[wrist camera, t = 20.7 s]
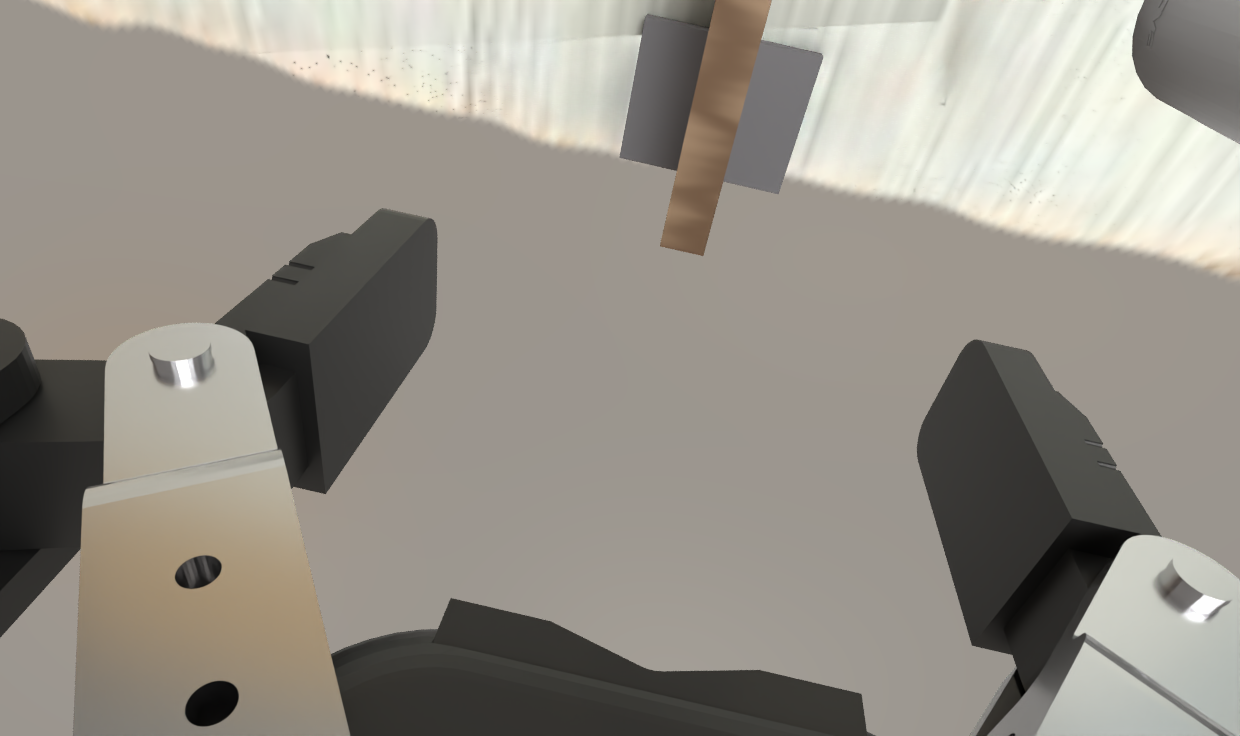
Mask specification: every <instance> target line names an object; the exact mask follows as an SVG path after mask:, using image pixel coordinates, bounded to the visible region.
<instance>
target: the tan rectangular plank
mask: <svg viewBox="0 0 1240 736" xmlns="http://www.w3.org/2000/svg"><path fill="white" fill-rule="evenodd" d="M771 1H772V0H715V5H714V9H713V14H712V18H711V23H710V27H709V31H708V36H707V40H706V45H705V49H704V54H703V58H702V62H701V67H700V71H699V76H698V80H697V84H696V89H695V93H694V98H693V102H692V107H691V111H690V115H689V120H688V124H687V129H686V133H685V138H684V142H683V146H682V151H681V155H680V160H679V164H678V168H677V173H676V178H675V182H674V186H673V191H672V195H671V199H670V204H669V209H668V213H667V217H666V221H665V226H664V230H663V235H662V239H661V244H660V246H661V247H666V248H670V249H675V250H680V251H683V252H688V253H692V254H698V255H701V256H703V255H704V251H705V247H706V243H707V240H708V236H709V232H710V229H711V224H712V221H713V218H714V214H715V209H716V206H717V203H718V199H719V195H720V191H721V187H722V184H723V180H724V176H725V173H726V169H727V165H728V162H729V158H730V154H731V150H732V147H733V143H734V139H735V135H736V132H737V128H738V124H739V121H740V117H741V113H742V109H743V106H744V102H745V98H746V94H747V91H748V87H749V83H750V79H751V76H752V72H753V68H754V65H755V61H756V57H757V53H758V50H759V46H760V42H761V38H762V35H763V31H764V27H765V24H766V20H767V16H768V12H769V9H770V5H771Z"/></svg>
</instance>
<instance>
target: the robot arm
mask: <svg viewBox="0 0 1240 736" xmlns="http://www.w3.org/2000/svg"><path fill="white" fill-rule="evenodd" d="M1132 57H1133V61H1134V65H1135V69H1136V73H1137V75H1138V77H1139V78H1140V80H1141V82H1142V84H1143V85H1144V87H1145V88H1146V89H1147V90H1148V91H1149V92H1150V93H1151V94H1152V95H1154V96H1155V97H1156V98H1157V99H1159V100H1161V101H1162V102H1164V103H1166V104H1168V105H1170V106H1172V107H1173V108H1175V109H1177V110H1179V111H1181V112H1183V113H1184V114H1186V115H1188V116H1190V117H1192V118H1193V119H1195V120H1197V121H1198V122H1200V123H1202V124H1204V125H1205V126H1207V127H1209V128H1211V129H1213V130H1215V131H1217V132H1218V133H1220V134H1222V135H1224V136H1226V137H1228V138H1230V139H1231V140H1233V141H1235V142H1237V143H1239V144H1240V0H1145V1H1144V3H1143V5H1142V7H1141V10H1140V12H1139V14H1138V17H1137V21H1136V25H1135V29H1134V33H1133V45H1132ZM436 286H437V228H436V224H435V222H434V220H432V219H430V218H426V217H421V216H417V215H412V214H407V213H403V212H398V211H394V210H389V209H384V208H382V209H380V210H378V211H377V212H376V213H375V214H374V215H373V216H371V217H370V218H369V219H368V220H367V221H366V222H365V223H364V224H363V225H361V226H360V227H359V228H358V229H357V230H356V231H355V232H354V233H353V234H347V233H342V232H341V233H338V234H336V235H333V236H330V237H328V238H325V239H322V240H320V241H317V242H315V243H312V244H310V245H308V246H307V247H306V248H305V249H304V250H303V251H301V252H300V253H299V254H298V255H296V256H295V257H294V258H293V259H292V260H290V261H289V265H284V266H283V267H282V268H281V269H280V270H279V271H277V272H276V273H275V274H274V275H273V277H272V280H269V279H268V280H266V281H265V282H264V283H263V284H262V285H261V286H259V287H258V288H257V289H256V290H255V291H253V292H252V293H251V294H250V295H248V296H247V297H246V298H245V299H244V300H242V301H241V302H240V303H239V304H238V305H236V306H235V307H234V308H233V309H232V310H230V311H229V312H228V313H227V314H226V315H224V316H223V317H222V318H221V319H220V320H218V321H217V322H216V323H215V324H208V323H183V324H174V325H168V326H163V327H159V328H155V329H152V330H149V331H146V332H143V333H141V334H139V335H137V336H134V337H132V338H131V339H129V340H127V341H125V342H124V343H122V344H121V345H120V346H119V347H117V348H116V349H115V350H114V351H113V353H112V354H111V355H110V356H109V358H108V360H107V361H98V360H95V361H94V360H34V357H33V355H32V352H31V350H30V347H29V345H28V342H27V340H26V337H25V335H24V332H23V331H22V330H21V329H20V327H18V326H16V325H15V324H14V323H12V322H9V321H7V320H4V319H0V637H1V636H2V635H3V634H4V633H5V632H6V631H7V630H8V628H9V627H10V626H11V625H12V624H13V623H14V622H15V621H16V620H17V618H18V617H19V616H20V615H21V614H22V613H23V612H24V611H25V610H26V609H27V607H28V606H29V605H30V604H31V603H32V602H33V601H34V600H35V599H36V598H37V596H38V595H39V594H40V593H41V592H42V590H44V589H45V587H46V586H47V585H48V584H49V583H50V582H51V581H52V580H53V579H54V578H55V577H56V575H57V574H58V573H59V572H60V571H61V570H62V569H63V568H64V567H65V565H66V564H67V563H68V562H69V561H70V560H71V559H72V558H73V557H74V555H75V554H76V553H77V552H78V551H79V550H80V549H81V552H80V577H79V600H78V602H79V603H78V627H77V650H76V674H75V698H74V722H73V736H875V735H873V734H871V733H868V732H867V731H866V724H865V716H864V709H863V703H862V695H861V694H859V693H855V692H851V691H847V690H842V689H838V688H834V687H829V686H825V685H821V684H816V683H812V682H808V681H804V680H799V679H795V678H791V677H787V676H782V675H778V674H774V673H770V672H765V671H761V670H739V671H738V670H737V671H735V670H734V671H671V672H670V671H667V672H662V671H653V670H649V669H646V668H643V667H641V666H639V665H637V664H635V663H633V662H631V661H629V660H627V659H625V658H623V657H621V656H619V655H617V654H615V653H613V652H611V651H609V650H607V649H605V648H603V647H601V646H599V645H597V644H595V643H593V642H591V641H589V640H587V639H585V638H583V637H581V636H579V635H577V634H575V633H573V632H571V631H569V630H567V629H565V628H563V627H561V626H559V625H557V624H555V623H553V622H551V621H546V620H542V619H538V618H534V617H529V616H525V615H521V614H517V613H512V612H508V611H504V610H499V609H495V608H491V607H487V606H482V605H478V604H474V603H469V602H465V601H461V600H457V599H452V598H451V599H450V601H449V604H448V607H447V609H446V611H445V613H444V616H443V618H442V621H441V623H440V626H439V628H438V629H435V630H434V629H430V630H415V631H408V632H400V633H393V634H389V635H385V636H381V637H377V638H373V639H369V640H366V641H363V642H360V643H357V644H354V645H352V646H349V647H346V648H344V649H341V650H339V651H337V652H335V653H333V654H331V653H330V649H329V645H328V641H327V637H326V632H325V628H324V624H323V620H322V616H321V612H320V608H319V604H318V599H317V595H316V591H315V587H314V582H313V578H312V574H311V570H310V566H309V562H308V557H307V554H306V549H305V545H304V541H303V537H302V532H301V528H300V524H299V520H298V516H297V512H296V508H295V503H294V499H293V495H292V491H291V489H292V488H293V487H297V488H302V489H306V490H310V491H315V492H319V493H324V494H326V493H327V491H328V490H329V488H330V487H331V485H332V484H333V482H334V481H335V480H336V478H337V477H338V475H339V474H340V472H341V471H342V469H343V468H344V466H345V465H346V464H347V462H348V461H349V459H350V458H351V456H352V455H353V453H354V452H355V450H356V449H357V447H358V446H359V445H360V443H361V442H362V440H363V439H364V437H365V436H366V434H367V433H368V432H369V430H370V429H371V427H372V426H373V424H374V423H375V421H376V420H377V418H378V417H379V415H380V414H381V413H382V411H383V410H384V408H385V407H386V405H387V404H388V402H389V401H390V399H391V398H392V397H393V395H394V394H395V392H396V391H397V389H398V388H399V386H400V385H401V383H402V382H403V381H404V379H405V378H406V376H407V374H408V373H409V372H410V370H411V369H412V367H413V366H414V365H415V363H416V362H417V360H418V359H419V357H420V356H421V354H422V353H423V351H424V350H425V348H426V347H427V345H428V343H429V340H430V337H431V334H432V331H433V327H434V323H435V317H436V291H437V287H436ZM1102 444H1103V443H1102V441H1101V440H1100V438H1099V436H1098V435H1097V433H1096V432H1095V430H1094V428H1093V427H1092V425H1091V424H1090V422H1089V420H1088V419H1087V417H1086V416H1084V415H1083V414H1082V413H1081V412H1080V411H1079V410H1078V409H1077V408H1075V407H1074V406H1073V405H1072V404H1071V403H1070V402H1069V401H1068V400H1067V399H1065V398H1064V397H1063V396H1062V395H1061V394H1060V393H1059V392H1057V391H1055V390H1054V389H1053V387H1052V385H1051V384H1050V382H1049V380H1048V379H1047V377H1046V375H1045V374H1044V372H1043V370H1042V369H1041V367H1040V365H1039V364H1038V362H1037V360H1036V359H1035V357H1034V356H1033V354H1032V353H1031V352H1029V351H1027V350H1022V349H1018V348H1013V347H1009V346H1004V345H999V344H995V343H990V342H986V341H981V340H973V341H971V342H970V343H968V344H967V345H966V346H965V347H964V349H963V350H962V352H961V353H960V355H959V356H958V358H957V360H956V362H955V364H954V366H953V368H952V369H951V371H950V373H949V375H948V377H947V379H946V380H945V383H944V384H943V386H942V388H941V390H940V392H939V393H938V396H937V397H936V399H935V401H934V403H933V404H932V406H931V408H930V410H929V412H928V414H927V415H926V417H925V419H924V421H923V424H922V427H921V429H920V433H919V437H918V444H917V457H918V462H919V465H920V469H921V473H922V476H923V479H924V483H925V486H926V489H927V493H928V496H929V500H930V503H931V507H932V510H933V513H934V517H935V520H936V524H937V527H938V531H939V534H940V537H941V541H942V544H943V548H944V551H945V555H946V558H947V561H948V565H949V568H950V572H951V575H952V578H953V582H954V585H955V589H956V592H957V595H958V599H959V602H960V606H961V609H962V612H963V616H964V620H965V623H966V626H967V630H968V633H969V637H970V640H971V643H972V646H976V647H981V648H985V649H989V650H994V651H998V652H1002V653H1007V654H1011V655H1013V658H1014V661H1015V664H1016V667H1015V668H1014V670H1013V671H1012V672H1011V673H1010V674H1009V675H1008V676H1007V677H1006V679H1005V680H1004V681H1003V682H1002V684H1001V685H1000V687H999V688H998V690H997V692H996V693H995V695H994V697H993V698H992V700H991V701H990V703H989V705H988V706H987V708H986V710H985V711H984V713H983V714H982V716H981V718H980V719H979V721H978V722H977V724H976V726H975V727H974V729H973V731H972V732H971V734H970V736H1240V580H1239V579H1238V578H1237V577H1235V576H1234V575H1233V574H1232V573H1231V572H1230V571H1228V570H1227V569H1225V568H1224V567H1223V566H1221V565H1220V564H1219V563H1217V562H1216V561H1214V560H1212V559H1211V558H1209V557H1208V556H1206V555H1204V554H1203V553H1200V552H1198V551H1197V550H1195V549H1193V548H1191V547H1189V546H1187V545H1184V544H1182V543H1179V542H1177V541H1174V540H1171V539H1167V538H1163V537H1162V536H1161V535H1160V533H1159V532H1158V530H1157V529H1156V527H1155V525H1154V524H1153V522H1152V521H1151V519H1150V518H1149V516H1148V514H1147V513H1146V511H1145V509H1144V508H1143V506H1142V505H1141V503H1140V501H1139V500H1138V498H1137V497H1136V495H1135V494H1134V492H1133V490H1132V489H1131V487H1130V486H1129V484H1128V483H1127V481H1126V479H1125V478H1124V476H1123V475H1122V473H1121V471H1118V470H1116V463H1115V462H1114V460H1113V459H1112V457H1111V455H1110V454H1109V452H1108V451H1107V449H1105V448H1102Z"/></svg>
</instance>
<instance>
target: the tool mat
mask: <svg viewBox="0 0 1240 736" xmlns="http://www.w3.org/2000/svg"><path fill="white" fill-rule="evenodd" d="M708 31H709V28H707V27H702V26H698V25H694V24H689V23H685V22H680V21H676V20H671V19H667V18H663V17H658V16H654V15H649V14H647V15H646V17H645V22H644V27H643V33H642V38H641V43H640V49H639V54H638V60H637V65H636V71H635V76H634V82H633V87H632V92H631V98H630V103H629V109H628V114H627V120H626V125H625V130H624V136H623V141H622V147H621V152H620V158H623V159H628V160H632V161H636V162H641V163H645V164H649V165H654V166H658V167H662V168H667V169H671V170H676V171H677V168H678V164H679V160H680V155H681V151H682V146H683V142H684V138H685V133H686V129H687V124H688V120H689V115H690V111H691V107H692V102H693V98H694V93H695V89H696V84H697V80H698V76H699V71H700V67H701V62H702V58H703V54H704V49H705V45H706V40H707V36H708ZM822 60H823V55H822V54H821V53H817V52H812V51H808V50H804V49H799V48H795V47H790V46H786V45H782V44H777V43H773V42H768V41H764V40H761V42H760V46H759V50H758V53H757V57H756V61H755V65H754V68H753V72H752V76H751V79H750V83H749V87H748V91H747V94H746V98H745V102H744V106H743V109H742V113H741V117H740V121H739V124H738V128H737V132H736V135H735V139H734V143H733V147H732V150H731V154H730V158H729V162H728V165H727V169H726V173H725V176H724V180H723V182H728V183H732V184H737V185H740V186H745V187H749V188H754V189H758V190H763V191H767V192H771V193H775V194H779V191H780V188H781V185H782V182H783V179H784V176H785V173H786V170H787V166H788V163H789V160H790V157H791V154H792V151H793V148H794V145H795V142H796V139H797V136H798V133H799V130H800V127H801V124H802V121H803V118H804V115H805V112H806V109H807V106H808V103H809V99H810V96H811V93H812V90H813V87H814V84H815V81H816V78H817V75H818V72H819V69H820V66H821V63H822Z"/></svg>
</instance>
